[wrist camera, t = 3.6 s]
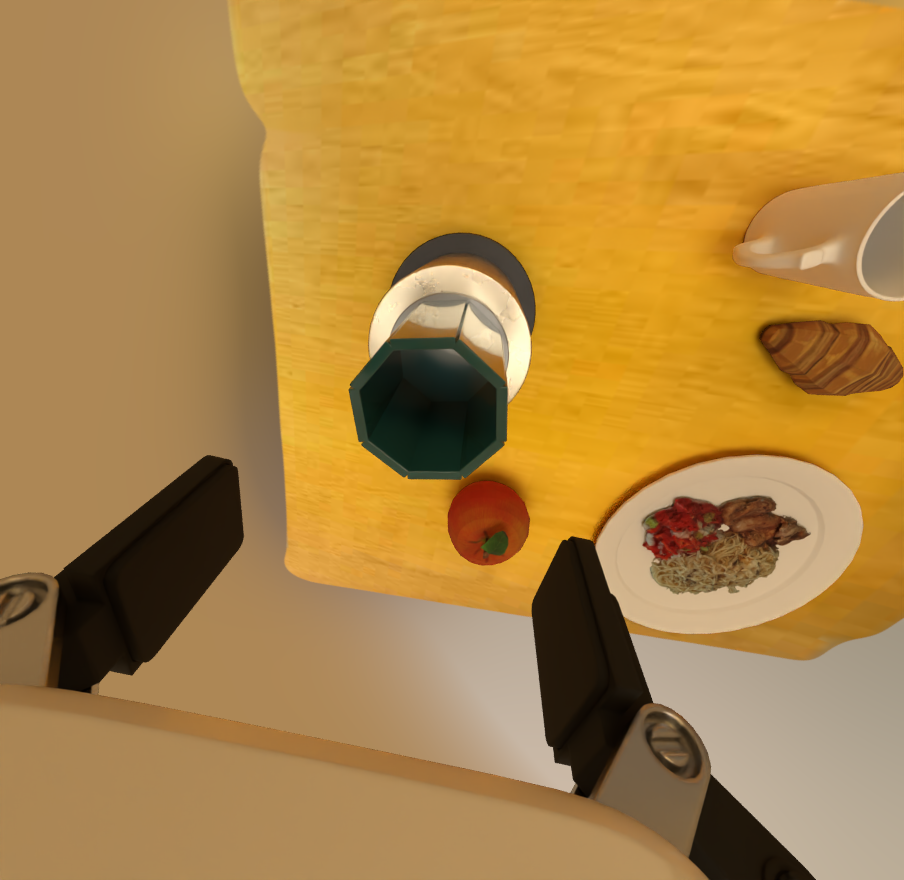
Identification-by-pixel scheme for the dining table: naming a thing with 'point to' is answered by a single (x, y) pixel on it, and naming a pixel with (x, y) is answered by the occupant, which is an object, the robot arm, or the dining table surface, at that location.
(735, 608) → the plated food
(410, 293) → the towel holder
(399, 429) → the teal cup
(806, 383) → the croissant
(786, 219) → the mug
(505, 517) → the fruit
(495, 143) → the dining table surface
